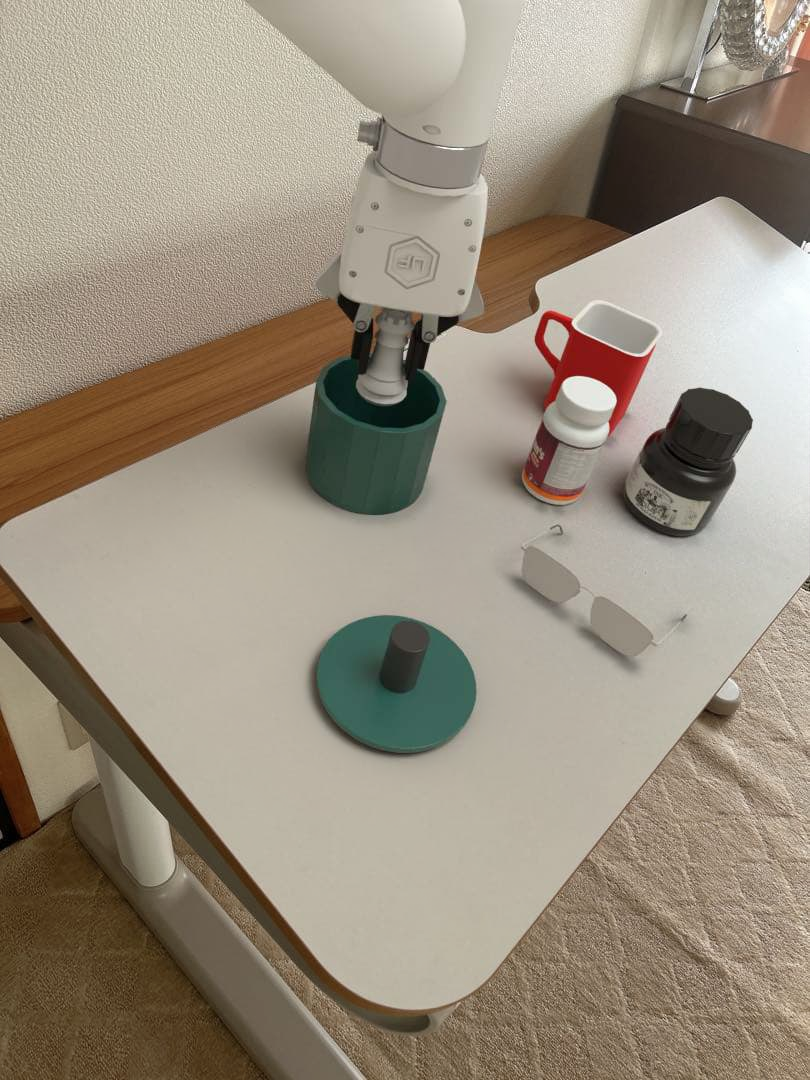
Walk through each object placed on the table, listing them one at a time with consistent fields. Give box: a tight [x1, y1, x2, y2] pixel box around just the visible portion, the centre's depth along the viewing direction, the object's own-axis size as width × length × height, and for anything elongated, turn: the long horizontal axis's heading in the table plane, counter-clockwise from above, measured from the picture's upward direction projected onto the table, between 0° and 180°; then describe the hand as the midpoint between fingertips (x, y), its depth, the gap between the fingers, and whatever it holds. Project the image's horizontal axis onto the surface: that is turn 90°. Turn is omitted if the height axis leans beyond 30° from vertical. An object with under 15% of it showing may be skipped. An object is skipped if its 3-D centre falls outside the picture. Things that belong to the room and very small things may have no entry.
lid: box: [315, 614, 477, 754], centre depth 64 cm, size 12×12×6 cm
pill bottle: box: [521, 376, 617, 506], centre depth 83 cm, size 6×6×11 cm
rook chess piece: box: [356, 307, 416, 406], centre depth 74 cm, size 4×4×8 cm
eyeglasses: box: [520, 524, 688, 658], centre depth 76 cm, size 14×8×4 cm, turn 48°
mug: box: [534, 299, 664, 438], centre depth 94 cm, size 12×8×11 cm
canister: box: [304, 352, 447, 516], centre depth 80 cm, size 11×11×10 cm
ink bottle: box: [622, 387, 754, 537], centre depth 83 cm, size 10×9×12 cm
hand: (385, 367), depth 75 cm, fingers closed on rook chess piece, 3 cm apart
